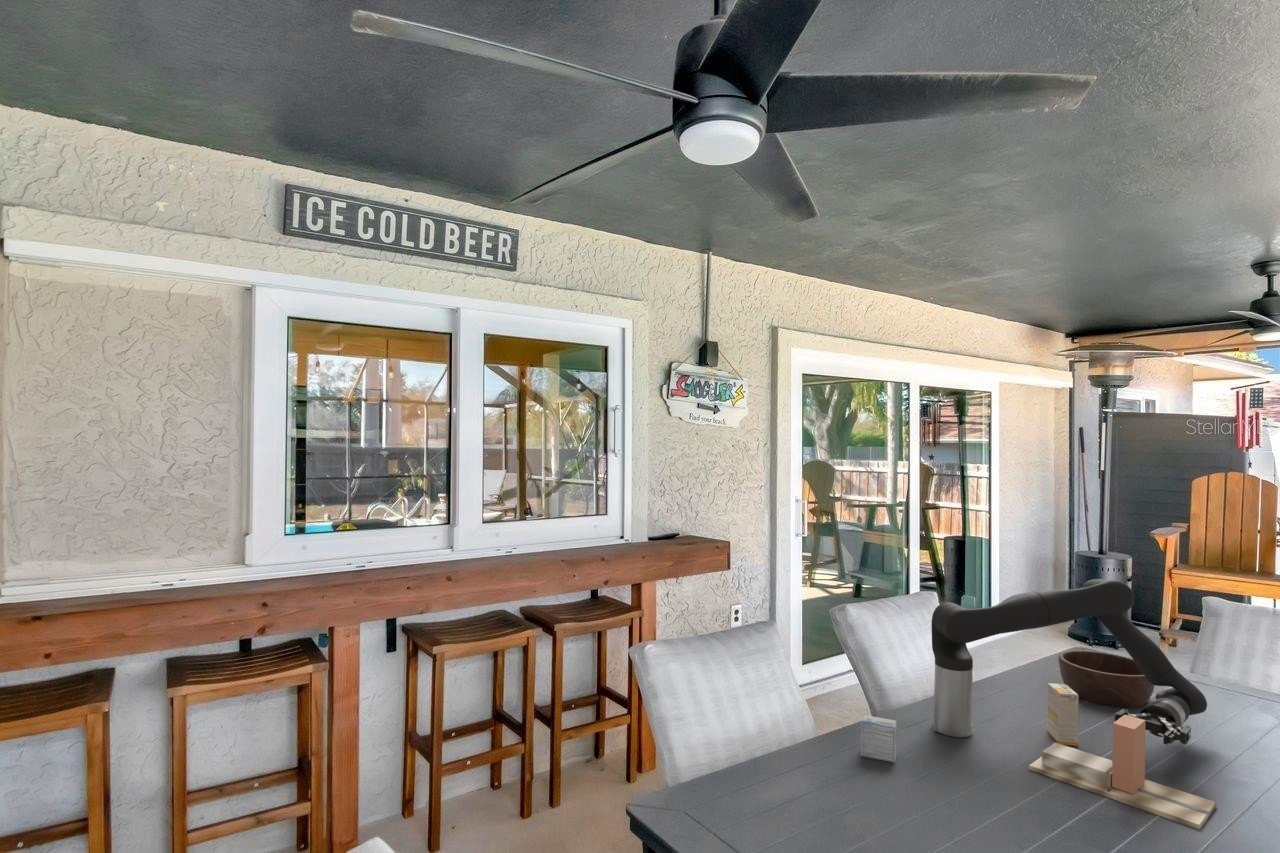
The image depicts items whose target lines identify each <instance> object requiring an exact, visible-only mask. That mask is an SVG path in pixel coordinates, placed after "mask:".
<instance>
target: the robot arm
mask: <svg viewBox="0 0 1280 853" xmlns="http://www.w3.org/2000/svg"><path fill="white" fill-rule="evenodd" d="M1134 603H1135V594H1134V592H1133V590H1132V589H1131V587H1129V585H1127V584H1126V583H1125V582H1123V581H1119V580H1117V579H1112V578H1111V579H1110V578H1107V579H1105V578H1093V579H1090V580H1087V581H1085V582H1084V583H1083V584H1082V586H1081V588H1075V589H1074V588H1073V589H1043V590H1035V591H1028V592H1023V593H1018V594H1014V595H1011V596H1010V597H1007V598H1006V599H1004V600H1003V601H1001V602H1000V603H997V604H996V605H993V606H988V607H979V608H966V607H963V606H961V605H959V604H957V603H953V602H949V601H947V602H946V601H945V602H942V603H940V604H939V605H938V606H936V607H935V609H934V611H933V613H932V616H931V648H932V654H933V655H934V690H933V692H934V693H933V723H932V725H933V726H932V728H933V729H932V730H933V732H938V733H940V734H942V735H944V736H948V737H953V738H968V737H970V736H971V735H972V734H973V733H972V732H973V724H972V723H973V675H974V674H973V672H974V671H973V668H974V665H973V664H974V660H973V657H972V655H971V654H970V652H969V650H968V646H967V644H969V643H973V642H976V641H979V640H982V639H986V638H989V637H992V636H997V635H1000V634H1001V635H1002V634H1008V633H1013V632H1014V633H1015V632H1020V631H1025V630H1028V631H1029V630H1034V629H1035V630H1036V629H1040V628H1045V627H1051V626H1054V625H1058V624H1063V623H1068V622H1070V621H1071V622H1072V621H1075V620H1079V619H1082V618H1088V617H1089V618H1090V617H1095V618H1096V619H1098V621H1099V622H1101V624H1102V625H1103V626H1104V627H1105V628H1106V629H1107V630H1108V631H1109V632H1110V633H1111V634H1112V635H1113V637H1114V638H1115V639H1116V640H1117V641H1118V643H1119V644H1120V645H1121V646H1122V647H1123V648H1124V650H1125V651H1126V652H1127V653H1128V655H1129V656H1130V658H1132V659H1133V660H1134V661H1135V663H1136V664H1137V665H1138V667H1139V668H1140V670H1141V671H1142V672H1143V674H1144V675H1145V677H1146V678H1147V679H1148V681H1149V682H1150V683H1151V684H1153V685H1155V686H1156V687H1169V688H1166V689H1162V690H1160V691H1158V692H1157V693H1156V694H1155V699H1154V700H1152V701H1151V702H1149V703H1148V704H1146V705H1144V706H1143V708H1142V709H1141V710H1140V712H1139V713H1129V710H1128V709H1126V708H1122V709H1120V710H1119V711H1117V712H1115V713H1114V722H1115V721H1117V720H1118V719H1119V718H1121V717H1122V716H1123V715H1128V716H1132V717H1135V718H1139V719H1143V720H1145V732H1148V733H1150V734H1151V735H1154V736H1155V737H1159V738H1163V742H1162V743H1163V744H1164V745H1166V746H1168V745H1169V744H1174V743H1176V742H1177V741H1179V743H1180V744H1183V745H1187V744H1188V743H1189V741H1190V740H1191V737H1192V735H1191V734H1192V729H1191V728H1192V727H1191V726H1189V725H1184V723H1185V722H1186V721H1187V720H1188V719H1189V717H1190V716H1193V715H1198V714H1202V713H1204V712H1206V711H1207V708H1208V702H1207V699H1206V697H1205V695H1204V694H1203V692H1201V690H1200V689H1199V688H1198V687H1197V686H1196V685H1195V684H1193V683H1192V682H1191V681H1189V680H1188V679H1187V678H1186V677H1185V676H1183V675H1182V674H1181V673H1180V672H1179V671H1178V670H1177V669H1176V667H1174V665H1173V664H1172V662H1171V660H1169V658H1168V657H1167V655H1166V654H1165V653H1164V652H1163V650H1162V649H1161V648H1160V647H1159V646H1158V644H1156V643H1155V641H1153V640H1152V639H1151V638H1150V637H1148V636H1147V635H1146V634H1145V633H1144V632H1143V631H1142V630H1140V629H1139V628H1138V627H1137V626H1136V625H1135V624H1134V623H1132V621H1131V620H1130V619H1129V618H1128V617H1127V616H1126V614H1125V613H1127V612H1128V611H1129V610H1130V609H1131V608H1132V606H1133V605H1134ZM1170 687H1171V688H1170ZM1183 725H1184V726H1183Z"/></svg>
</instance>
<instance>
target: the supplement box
mask: <svg viewBox="0 0 1280 853" xmlns="http://www.w3.org/2000/svg"><path fill="white" fill-rule="evenodd" d="M1046 727H1047V728H1046V730H1047V731H1046V732H1047V733H1048V734H1049V735H1050V736H1051V738H1052V739H1053V740H1054V741H1056V743H1058V744H1061V745H1065V746H1075V747H1077V746H1079V745H1078V744H1079V737H1078V736H1079V697H1078V694H1077V693H1076V692H1074V691H1073V690H1072V689H1071V688H1070V687H1068V686H1067V685H1065V684H1063V683H1052V682H1048V683H1047V726H1046Z"/></svg>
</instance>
